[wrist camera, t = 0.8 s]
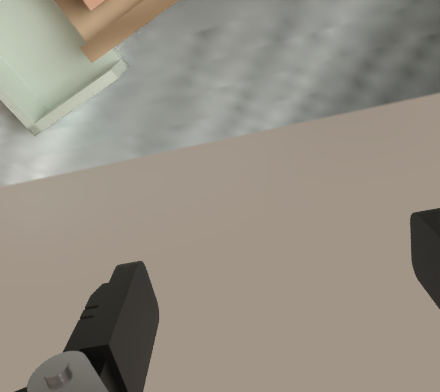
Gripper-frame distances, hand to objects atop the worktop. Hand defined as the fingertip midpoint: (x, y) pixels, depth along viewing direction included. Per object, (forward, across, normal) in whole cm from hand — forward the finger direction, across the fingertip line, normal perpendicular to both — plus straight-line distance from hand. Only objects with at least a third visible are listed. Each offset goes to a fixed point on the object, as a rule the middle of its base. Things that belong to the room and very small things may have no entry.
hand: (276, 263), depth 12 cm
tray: (+24, +15, -10) cm, 30 cm away
